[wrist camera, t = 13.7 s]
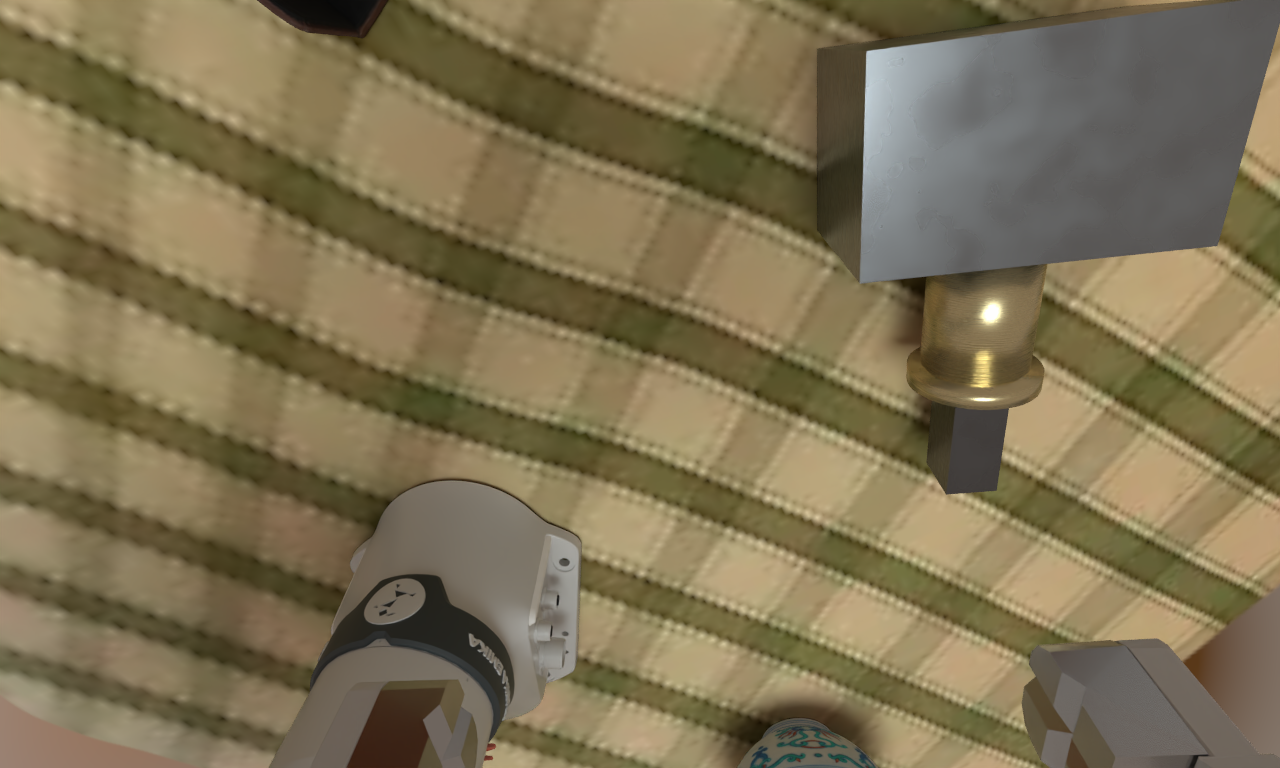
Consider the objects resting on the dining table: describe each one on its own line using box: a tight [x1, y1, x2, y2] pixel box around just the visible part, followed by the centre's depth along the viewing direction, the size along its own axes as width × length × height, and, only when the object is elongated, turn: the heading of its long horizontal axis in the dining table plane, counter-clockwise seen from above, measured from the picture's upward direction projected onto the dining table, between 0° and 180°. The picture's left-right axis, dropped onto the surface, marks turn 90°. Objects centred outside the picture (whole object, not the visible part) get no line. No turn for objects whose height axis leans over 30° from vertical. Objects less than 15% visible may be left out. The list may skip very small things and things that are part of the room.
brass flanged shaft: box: [906, 264, 1047, 494], centre depth 39 cm, size 15×7×7 cm, turn 7°
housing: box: [817, 0, 1280, 283], centre depth 33 cm, size 10×16×10 cm, turn 97°
